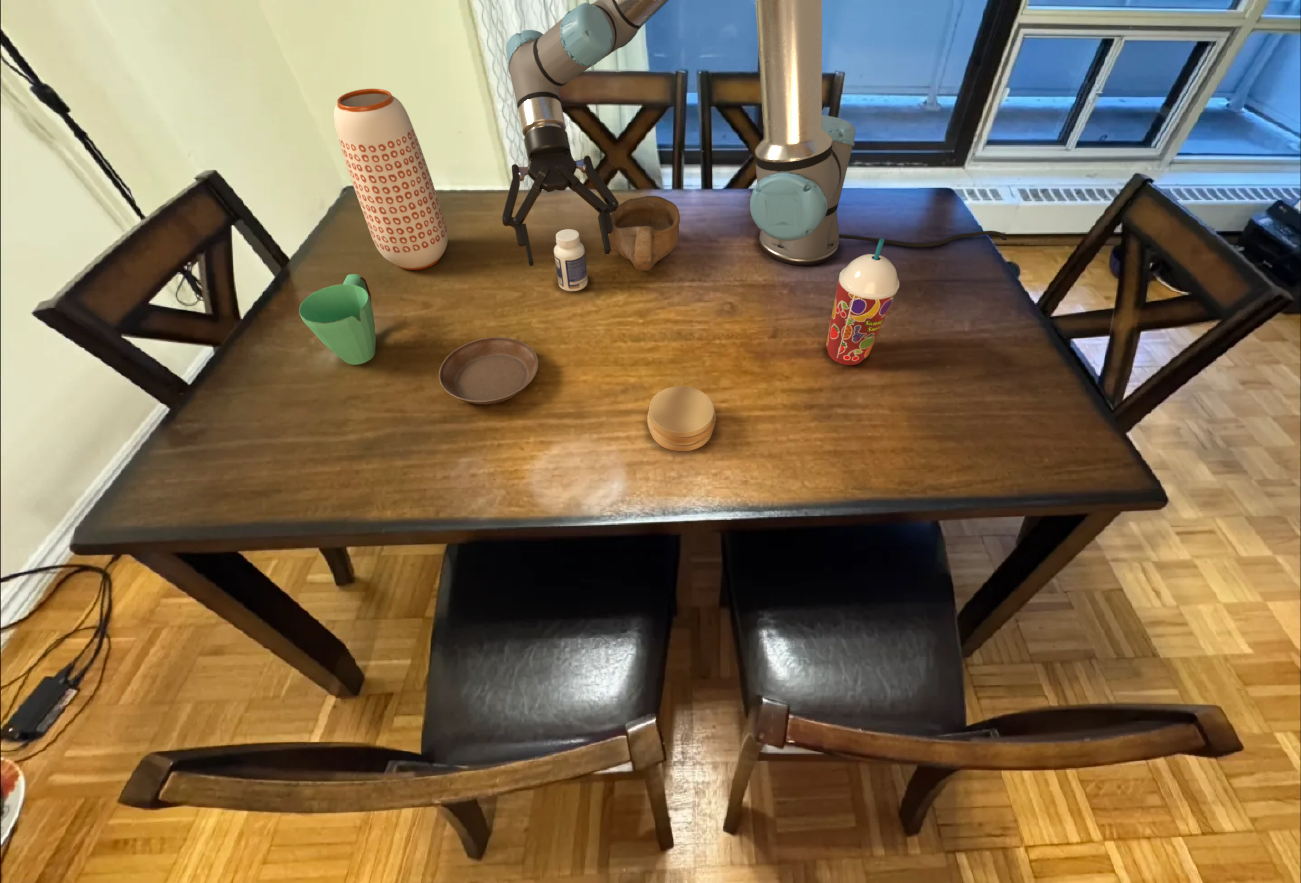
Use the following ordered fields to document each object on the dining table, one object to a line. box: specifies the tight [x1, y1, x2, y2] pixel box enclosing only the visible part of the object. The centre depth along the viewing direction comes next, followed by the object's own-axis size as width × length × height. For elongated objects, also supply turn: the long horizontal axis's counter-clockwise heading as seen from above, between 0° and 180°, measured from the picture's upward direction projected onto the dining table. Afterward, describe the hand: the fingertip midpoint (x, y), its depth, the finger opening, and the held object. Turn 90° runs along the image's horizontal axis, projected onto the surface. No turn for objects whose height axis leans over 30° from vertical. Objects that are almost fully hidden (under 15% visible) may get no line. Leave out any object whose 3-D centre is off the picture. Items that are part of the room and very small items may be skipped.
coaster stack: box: [646, 385, 717, 452], centre depth 82 cm, size 10×10×4 cm
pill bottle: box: [553, 228, 589, 292], centre depth 104 cm, size 5×5×10 cm
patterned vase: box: [333, 88, 449, 271], centre depth 103 cm, size 13×13×28 cm
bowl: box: [608, 195, 681, 271], centre depth 110 cm, size 18×14×10 cm
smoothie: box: [825, 238, 900, 366], centre depth 86 cm, size 8×8×20 cm
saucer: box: [438, 336, 539, 405], centre depth 89 cm, size 15×15×3 cm
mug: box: [298, 273, 377, 366], centre depth 92 cm, size 15×10×10 cm
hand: (570, 258), depth 102 cm, fingers open, 13 cm apart
